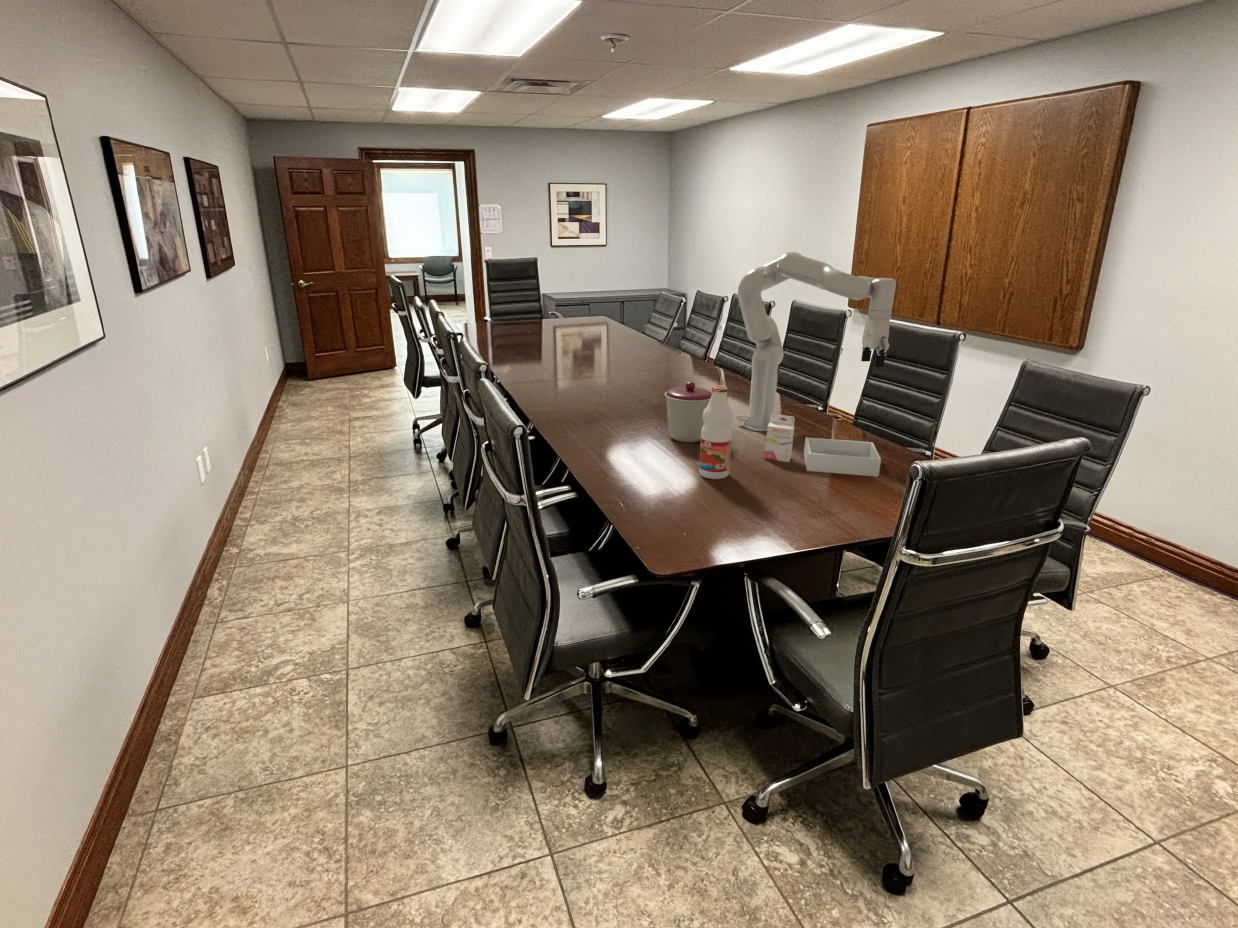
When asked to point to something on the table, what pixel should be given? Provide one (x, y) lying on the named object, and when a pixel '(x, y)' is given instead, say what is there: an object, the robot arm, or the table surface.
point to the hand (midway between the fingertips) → (872, 364)
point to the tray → (841, 457)
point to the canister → (686, 411)
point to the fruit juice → (716, 436)
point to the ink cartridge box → (779, 438)
